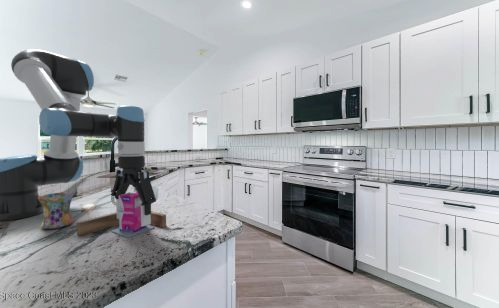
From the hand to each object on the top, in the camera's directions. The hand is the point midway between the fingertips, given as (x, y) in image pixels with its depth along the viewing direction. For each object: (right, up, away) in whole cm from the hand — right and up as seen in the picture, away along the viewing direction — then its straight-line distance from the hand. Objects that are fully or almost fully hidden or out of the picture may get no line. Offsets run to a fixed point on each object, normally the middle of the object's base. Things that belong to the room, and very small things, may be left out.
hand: (133, 221), depth 72 cm
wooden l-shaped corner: (-3, -3, -1) cm, 4 cm away
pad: (0, -3, 0) cm, 3 cm away
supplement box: (0, -3, 0) cm, 3 cm away
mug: (-29, -3, +4) cm, 29 cm away
